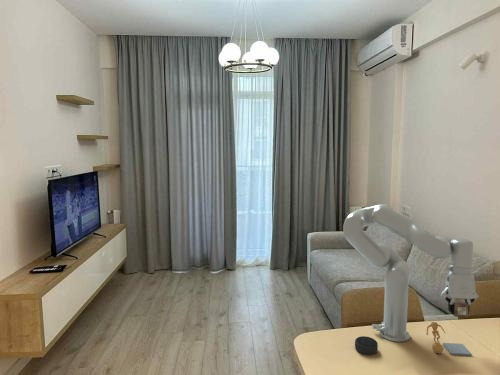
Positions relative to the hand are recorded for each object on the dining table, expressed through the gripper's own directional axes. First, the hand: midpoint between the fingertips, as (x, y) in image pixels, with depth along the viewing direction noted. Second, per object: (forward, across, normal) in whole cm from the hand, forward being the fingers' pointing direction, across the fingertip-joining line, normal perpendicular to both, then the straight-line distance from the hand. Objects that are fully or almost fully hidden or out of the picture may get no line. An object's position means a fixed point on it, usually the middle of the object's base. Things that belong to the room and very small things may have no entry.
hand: (458, 312), depth 152 cm
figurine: (+16, -10, -3) cm, 18 cm away
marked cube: (+1, 0, 0) cm, 1 cm away
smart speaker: (+16, -38, -4) cm, 41 cm away
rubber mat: (+16, 0, -1) cm, 16 cm away
